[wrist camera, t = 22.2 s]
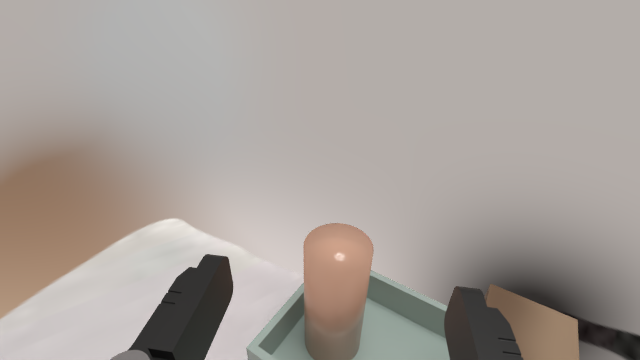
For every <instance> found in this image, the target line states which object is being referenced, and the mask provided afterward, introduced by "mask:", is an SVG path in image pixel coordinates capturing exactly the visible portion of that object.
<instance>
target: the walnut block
mask: <svg viewBox="0 0 640 360" xmlns="http://www.w3.org/2000/svg"><path fill="white" fill-rule="evenodd" d="M484 298H485V301H486V304H487V307H492V308H498V310H499V311H500V312H501V313H502V315H503V316H504V317H505V318H506V319H507V321H508V322H509V323H510V326H511V328H512V331H513V333H514V336H515V339H516V343H517V344H518V346H519V349H520V352H521V357H523V359H524V360H579V345H578V321H577V320H576V319H574V318H572V317H569V316H567V315H564V314H562V313H560V312H557V311H555V310H552V309H550V308H548V307H545V306H543V305H540V304H538V303H536V302H533V301H531V300H528V299H526V298H524V297H521V296H519V295H517V294H514V293H512V292H509V291H507V290H504V289H502V288H500V287H497V286H495V285H493V284H490V286H489V288H488V291H487V293H486V295H485V297H484Z"/></svg>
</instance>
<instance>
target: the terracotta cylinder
mask: <svg viewBox="0 0 640 360" xmlns="http://www.w3.org/2000/svg"><path fill="white" fill-rule="evenodd" d="M372 257H373V244H372V242H371V240H370V238H369V237H368V236H367V235H366V234H365V233H364V232H363V231H361V230H360V229H358V228H356V227H353V226H351V225H347V224H340V223H332V224H326V225H322V226H320V227H317V228H316V229H314V230H312V231H311V232H310V233H309V234H308V235H307V237H306V239H305V241H304V328H305V346H306V349H307V351H308V353H309V354H310V356H311V357H312V358H313V359H314V360H352V359H353V358H354V357H355V355H356V354H357V352H358V349H359V345H360V339H361V332H362V325H363V318H364V311H365V305H366V298H367V291H368V284H369V277H370V271H371V264H372Z"/></svg>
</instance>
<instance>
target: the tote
mask: <svg viewBox="0 0 640 360" xmlns="http://www.w3.org/2000/svg"><path fill="white" fill-rule="evenodd" d="M447 307H448V306H446V305H443V304H441V303H439V302H437V301H435V300H433V299H431V298H429V297H427V296H425V295H423V294H420V293H418V292H416V291H414V290H412V289H410V288H408V287H406V286H404V285H401V284H399V283H397V282H395V281H393V280H391V279H389V278H387V277H384V276H382V275H380V274H378V273H376V272H374V271H372V270H371V271H370V277H369V284H368V291H367V298H366V305H365V311H364V318H363V325H362V332H361V339H360V345H359V349H358V352H357V354H356V355H355V357H354V358H353V359H352V360H450V357H449V352H448V347H447V342H446V337H445V331H444V318H445V313H446V310H447ZM246 349H247V355H248V360H314V359H313V358H312V357H311V356H310V354H309V353H308V351H307V349H306V346H305V328H304V283H303V284H302V285H301V286H300V287H299V288H298V290H297V291H296V292H295V293H294V294H293V295H292V296H291V298H290V299H289V300H288V301H287V302H286V303H285V304H284V306H283V307H282V308H281V309H280V310H279V311H278V312H277V314H276V315H275V316H274V317H273V318H272V319H271V320H270V322H269V323H268V324H267V325H266V326H265V327H264V328H263V330H262V331H261V332H260V333H259V334H258V335H257V336H256V338H255V339H254V340H253V341H252V342H251V343H250V344H249V346H248V347H247V348H246Z"/></svg>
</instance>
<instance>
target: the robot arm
mask: <svg viewBox="0 0 640 360" xmlns="http://www.w3.org/2000/svg"><path fill="white" fill-rule="evenodd" d="M232 293H233V281H232V275H231V270H230V264H229V259H228V257H226V256H218V255H210V254H207V255H205V256H204V257H203V259H202V260H201V262H200V263H199V265H198V267H197V268H192V267H189V268H188V269H187V270H185V271H184V272H183V273H182V274H181V275H179V276H178V277H177V278H176V280H175V281H174V283H173V284H172V286H171V287H170V289H169V290H168V293H166V295H165V296H164V298H163V299H162V302H161V304H159V305H158V307H157V308H156V310H155V312H154V313H153V315H152V316H151V318H150V319H149V321H148V322H147V324H146V325H145V327H144V328H143V330H142V331H141V333H140V334H139V336H138V337H137V339H136V340H135V342H134V343H133V345H132V346H131V347H130V348H129V350H128V351H125V352H122V353H120V354H118V355H116V356H115V357H113V358H112V359H111V360H204V359H205V357H206V355H207V352H208V350H209V348H210V346H211V343H212V341H213V339H214V337H215V334H216V332H217V330H218V328H219V325H220V323H221V321H222V319H223V317H224V314H225V312H226V310H227V308H228V305H229V303H230V301H231V298H232ZM444 331H445V337H446V342H447V347H448V352H449V357H450V360H524V359H523V357H521V352H520V349H519V346H518V344H517V343H516V339H515V336H514V333H513V331H512V328H511V326H510V323H509V322H508V321H507V319H506V318H505V317H504V316H503V315H502V313H501V312H500V311H499V310H498V308H492V307H487V304H486V301H485V298H484V295H483V293H482V291H481V290H480V289H475V288H467V287H459V286H456V287H455V288H454V291H453V294H452V296H451V299H450V302H449V305H448V307H447V310H446V313H445V318H444Z"/></svg>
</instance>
